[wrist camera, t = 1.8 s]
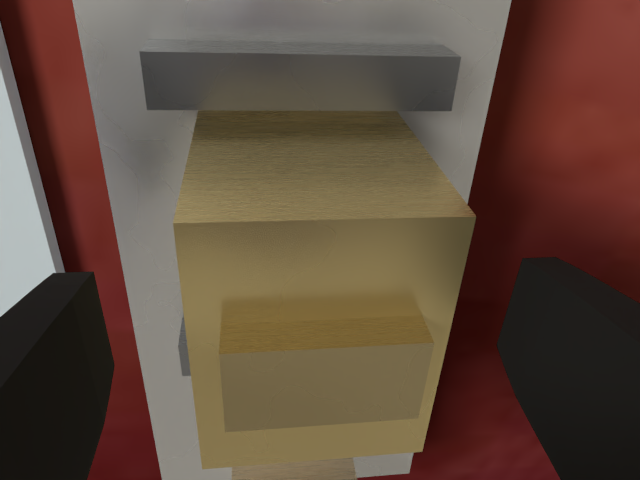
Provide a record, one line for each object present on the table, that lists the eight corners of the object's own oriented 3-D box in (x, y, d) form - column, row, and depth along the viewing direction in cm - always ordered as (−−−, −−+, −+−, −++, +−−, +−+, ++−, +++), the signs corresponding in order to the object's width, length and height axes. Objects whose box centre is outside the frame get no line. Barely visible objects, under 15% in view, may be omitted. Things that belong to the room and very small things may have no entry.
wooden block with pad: (372, 300, 14) (432, 481, 9) (214, 306, 13) (199, 501, 9) (395, 110, 11) (494, 240, 7) (199, 108, 10) (167, 248, 6)
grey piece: (388, 402, 20) (436, 566, 15) (175, 417, 19) (150, 597, 14) (510, -340, 10) (796, -606, 5) (53, -394, 9) (-209, -807, 4)
